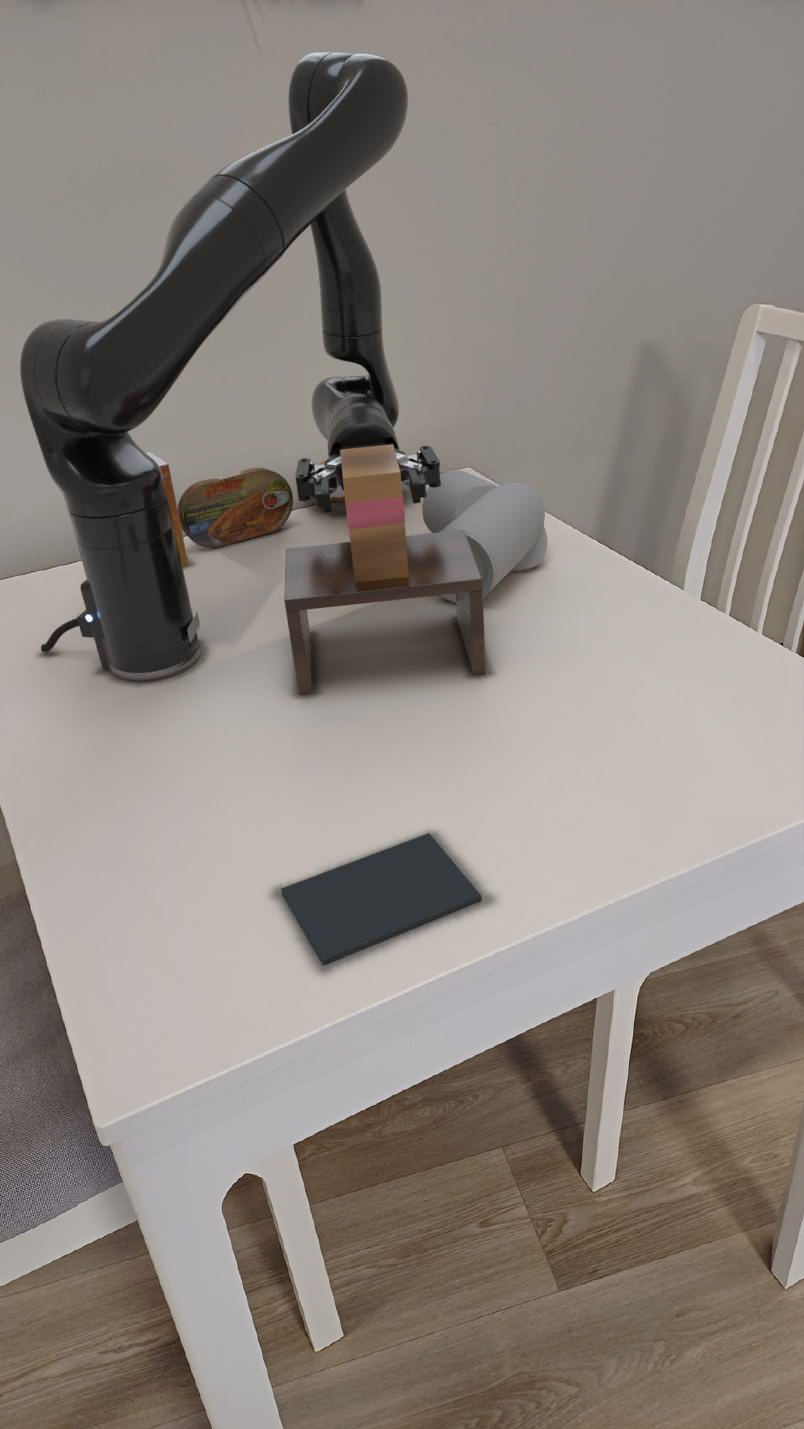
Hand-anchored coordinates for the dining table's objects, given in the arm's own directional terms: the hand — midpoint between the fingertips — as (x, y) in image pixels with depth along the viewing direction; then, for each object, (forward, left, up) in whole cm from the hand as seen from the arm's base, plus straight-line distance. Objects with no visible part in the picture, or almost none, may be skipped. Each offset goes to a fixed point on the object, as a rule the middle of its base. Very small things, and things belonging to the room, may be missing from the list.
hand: (372, 498), depth 94 cm
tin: (-27, +26, -16) cm, 40 cm away
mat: (+10, -36, -16) cm, 41 cm away
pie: (-15, +40, -16) cm, 45 cm away
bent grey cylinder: (+6, +19, -16) cm, 25 cm away
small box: (-35, +16, -16) cm, 42 cm away
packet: (+1, -2, -6) cm, 6 cm away
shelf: (+1, -2, -16) cm, 16 cm away
